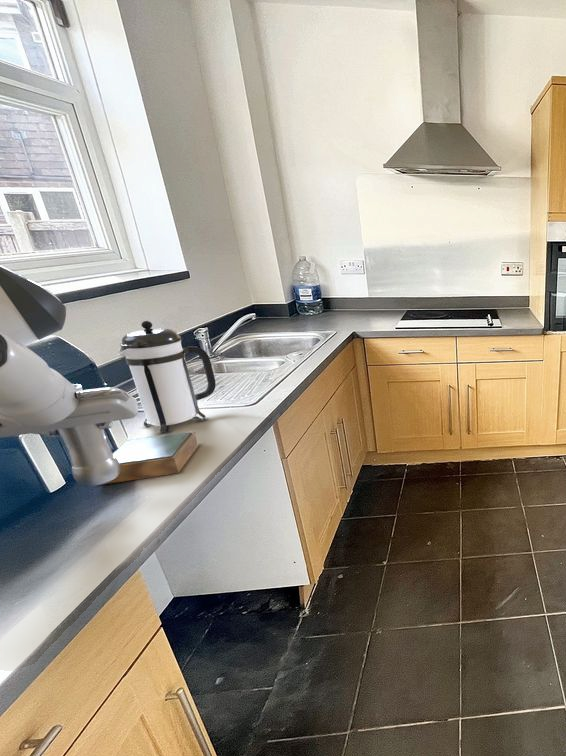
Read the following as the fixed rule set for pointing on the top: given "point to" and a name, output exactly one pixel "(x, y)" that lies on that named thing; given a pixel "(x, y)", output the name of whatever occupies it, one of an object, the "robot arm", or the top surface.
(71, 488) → the top surface
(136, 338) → the coffee press
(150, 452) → the riser
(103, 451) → the plastic bottle
